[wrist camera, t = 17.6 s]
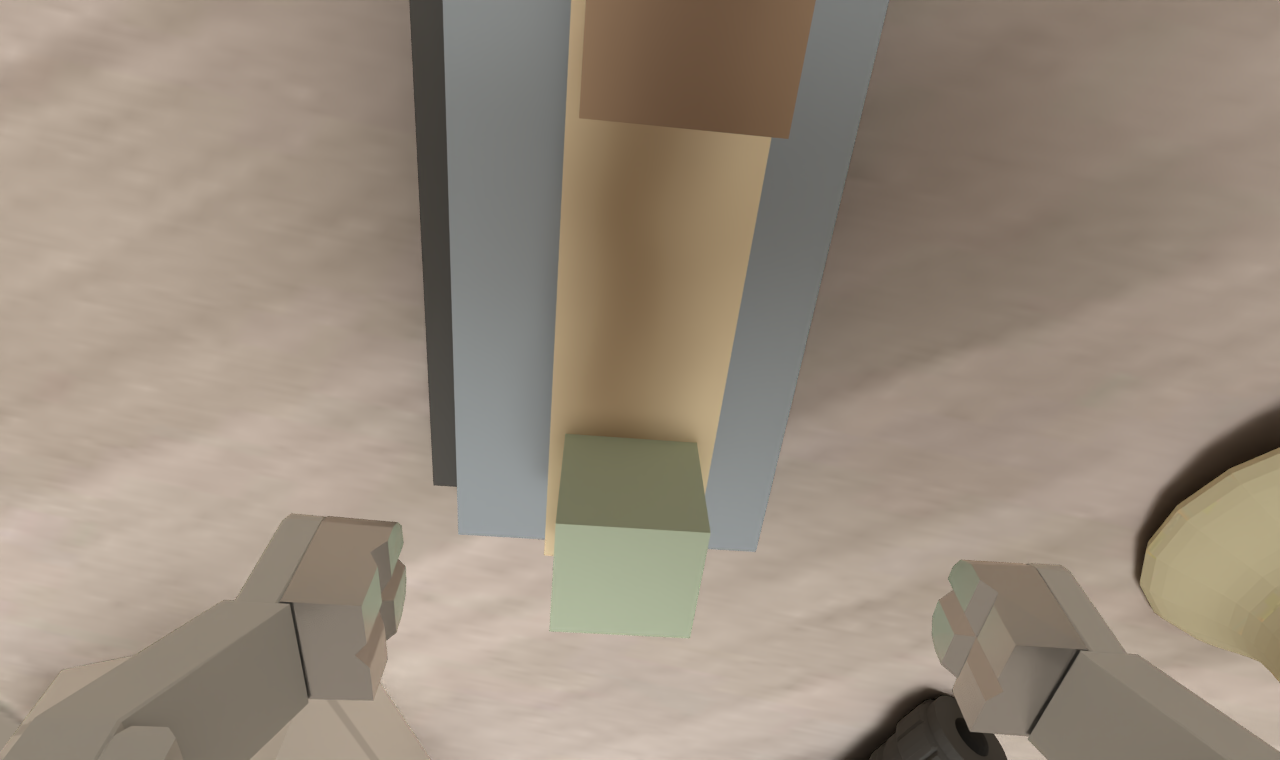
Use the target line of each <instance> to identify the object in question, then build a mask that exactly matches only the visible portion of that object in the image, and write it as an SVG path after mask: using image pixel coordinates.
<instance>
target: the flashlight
mask: <svg viewBox="0 0 1280 760" xmlns="http://www.w3.org/2000/svg"><path fill="white" fill-rule="evenodd" d="M869 760H1007V757H1006V755H1005V752H1004V750H1003V748H1002V746H1001V745H1000V743H999V741H998V740H997V738H996V737H995V735H994V734H993V733H980V732H970V731H969V728H968V726H967V724H966V721H965V719H964V717H963V714H962V712H961V710H960V707H959V705H958V703H957V701H956V699H955V698H953V697H950V696H940V697H938V698H937V699H936V700H930V699H929V700H926V701H924V702H923V703H922V704H920V705H919V706H917V707H916V708H915V709H914V710H912V711H911V712H910V713H909V714H908V715H906V716H905V717H904V718H903V719H902V720H900V721H899V722H898V724H897V727H896V733H894V734H893V735H892V736H891V737H890V738H888V740H887V741H886V743H883V744H882V745H881V746H880V748H878V749H876V750H875V751H874V752H873V753H872V755H871V756H870V759H869Z"/></svg>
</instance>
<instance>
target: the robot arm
mask: <svg viewBox="0 0 1280 760" xmlns="http://www.w3.org/2000/svg"><path fill="white" fill-rule="evenodd" d="M402 546H403V534H402V526H401V525H400V524H399V523H398V522H389V521H378V520H367V519H355V518H344V517H333V516H327V517H323V516H313V515H303V514H293V513H291V514H290V515H289V516H287V517H286V518H285V519H284V520H282V522H281V523H280V525H279V527H278V529H277V530H276V532H275V534H274V535H273V537H272V539H271V540H270V542H269V544H268V545H267V547H266V549H265V550H264V552H263V554H262V556H261V557H260V559H259V561H258V562H257V564H256V566H255V567H254V569H253V571H252V572H251V574H250V576H249V577H248V579H247V581H246V583H245V584H244V586H243V588H242V589H241V591H240V593H239V594H238V596H237V598H236V599H235V601H234V600H223V601H221V602H220V603H218V604H216V605H215V606H213V607H212V608H210V609H208V610H207V611H205V612H203V613H202V614H200V615H199V616H197V617H195V618H194V619H192V620H191V621H189V622H187V623H186V624H184V625H183V626H181V627H179V628H178V629H176V630H175V631H173V632H171V633H170V634H168V635H166V636H165V637H163V638H162V639H160V640H158V641H157V642H155V643H154V644H152V645H150V646H149V647H147V648H146V649H144V650H142V651H141V652H139V653H137V654H136V655H134V656H133V657H131V658H129V659H128V660H126V661H125V662H123V663H121V664H120V665H118V666H117V667H115V668H113V669H112V670H110V671H109V672H107V673H105V674H104V675H102V676H100V677H99V678H97V679H96V680H94V681H92V682H91V683H89V684H88V685H86V686H84V687H83V688H81V689H80V690H78V691H76V692H75V693H73V694H72V695H70V696H68V697H67V698H65V699H63V700H62V701H60V702H59V703H57V704H55V705H54V706H52V707H51V708H49V709H47V710H46V711H44V712H43V713H41V714H39V715H38V716H36V717H35V718H34V719H33V721H32V722H31V723H30V724H29V726H28V727H27V728H26V730H25V731H24V732H23V734H22V735H21V736H20V738H19V739H18V740H17V742H16V743H15V744H14V745H13V747H12V748H11V749H10V751H9V752H8V753H7V755H6V756H5V757H4V759H3V760H250V759H251V758H252V757H253V756H254V755H255V754H256V753H257V752H258V751H259V750H260V749H261V748H262V747H263V746H264V745H265V744H266V743H268V742H269V741H270V740H271V739H272V738H273V737H274V736H275V735H276V734H277V733H278V732H279V731H280V730H281V729H282V728H283V727H284V726H285V725H286V724H287V723H288V722H289V721H291V720H292V719H293V718H294V717H295V716H296V715H297V714H298V713H299V712H300V711H301V710H302V709H303V708H304V707H305V706H306V705H307V704H308V703H309V700H308V699H324V700H366V701H374V698H375V695H376V692H377V689H378V686H379V683H380V680H381V677H382V674H383V671H384V668H385V666H386V663H387V660H388V657H387V647H386V640H388V639H389V638H390V637H391V636H393V635H394V634H395V633H396V632H397V629H398V626H399V623H400V620H401V616H402V612H403V606H404V601H405V595H406V567H405V565H404V564H403V563H402V562H401V561H400V560H399V559H398V557H399V555H400V552H401V549H402ZM948 580H949V582H950V584H951V586H952V588H953V590H952V591H951V592H949V593H948V594H946V595H945V596H944V597H942V598H941V599H939V600H938V603H937V606H936V608H935V611H934V614H933V616H932V638H933V643H934V648H935V651H936V653H937V656H938V658H939V661H940V663H941V664H942V665H943V666H944V667H945V668H946V669H947V670H948V671H950V672H951V673H952V674H953V675H954V676H955V677H956V681H955V684H954V687H953V689H952V691H953V694H954V696H955V698H956V701H957V703H958V705H959V707H960V710H961V712H962V714H963V717H964V719H965V721H966V724H967V726H968V728H969V731H970V732H980V733H993V734H1005V735H1018V736H1029V738H1028V740H1029V741H1030V742H1031V743H1032V744H1033V745H1034V746H1035V747H1036V748H1037V749H1038V750H1039V751H1040V752H1041V753H1042V754H1043V755H1044V756H1045V757H1046V759H1047V760H1280V752H1279V751H1278V750H1276V749H1275V748H1273V747H1272V746H1270V745H1269V744H1267V743H1266V742H1265V741H1263V740H1262V739H1260V738H1259V737H1257V736H1256V735H1254V734H1253V733H1251V732H1250V731H1248V730H1247V729H1246V728H1244V727H1243V726H1241V725H1240V724H1238V723H1237V722H1235V721H1234V720H1232V719H1231V718H1230V717H1228V716H1227V715H1225V714H1224V713H1222V712H1221V711H1219V710H1218V709H1216V708H1215V707H1214V706H1212V705H1211V704H1209V703H1208V702H1206V701H1205V700H1203V699H1202V698H1200V697H1199V696H1197V695H1196V694H1195V693H1193V692H1192V691H1190V690H1189V689H1187V688H1186V687H1184V686H1183V685H1181V684H1180V683H1179V682H1177V681H1176V680H1174V679H1173V678H1171V677H1170V676H1168V675H1167V674H1165V673H1164V672H1163V671H1161V670H1160V669H1158V668H1157V667H1155V666H1154V665H1152V664H1151V663H1149V662H1148V661H1147V660H1145V659H1144V658H1142V657H1141V656H1139V655H1138V654H1127V653H1126V651H1125V650H1124V648H1123V647H1122V645H1121V644H1120V643H1119V641H1118V640H1117V638H1116V637H1115V635H1114V634H1113V633H1112V631H1111V630H1110V628H1109V627H1108V625H1107V624H1106V622H1105V621H1104V620H1103V618H1102V617H1101V615H1100V614H1099V612H1098V611H1097V610H1096V608H1095V607H1094V605H1093V604H1092V602H1091V601H1090V600H1089V598H1088V597H1087V595H1086V594H1085V592H1084V591H1083V589H1082V588H1081V587H1080V585H1079V584H1078V582H1077V581H1076V579H1075V578H1074V577H1073V575H1072V574H1071V572H1070V571H1069V570H1067V569H1066V568H1064V567H1063V566H1062V565H1052V564H1033V563H1027V564H1023V563H1009V562H992V561H974V560H960V561H959V562H958V563H957V564H955V565H954V566H953V568H952V571H951V573H950V575H949V577H948Z"/></svg>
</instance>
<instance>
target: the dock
mask: <svg viewBox="0 0 1280 760" xmlns="http://www.w3.org/2000/svg"><path fill="white" fill-rule="evenodd" d="M409 1H410V21H411V41H412V61H413V81H414V101H415V122H416V142H417V162H418V182H419V202H420V222H421V242H422V262H423V282H424V302H425V323H426V343H427V363H428V383H429V403H430V423H431V443H432V463H433V483H434V485H438V486H454V487H457V502H458V534H461V535H478V536H495V537H513V538H530V539H545V527H546V507H547V486H548V466H549V445H550V425H551V404H552V384H553V363H554V343H555V322H556V302H557V281H558V261H559V240H560V220H561V199H562V179H563V158H564V138H565V117H566V97H567V76H568V56H569V35H570V15H571V0H409ZM888 3H889V0H816V2H815V7H814V12H813V17H812V22H811V27H810V33H809V38H808V43H807V48H806V53H805V58H804V63H803V68H802V73H801V78H800V83H799V88H798V93H797V98H796V103H795V109H794V114H793V119H792V124H791V129H790V134H789V139H783V138H773V137H772V138H771V143H770V149H769V154H768V159H767V165H766V170H765V175H764V181H763V186H762V192H761V197H760V202H759V208H758V213H757V218H756V224H755V229H754V235H753V240H752V245H751V251H750V256H749V261H748V267H747V272H746V278H745V283H744V288H743V294H742V299H741V304H740V310H739V315H738V321H737V326H736V331H735V337H734V342H733V347H732V353H731V358H730V363H729V369H728V374H727V380H726V385H725V390H724V396H723V401H722V406H721V412H720V417H719V423H718V428H717V433H716V439H715V444H714V449H713V455H712V460H711V466H710V471H709V476H708V482H707V487H706V492H705V499H706V506H707V512H708V519H709V525H710V532H711V534H710V539H709V544H708V549H718V550H735V551H752V552H756V549H757V545H758V541H759V536H760V532H761V528H762V524H763V520H764V516H765V512H766V507H767V503H768V499H769V495H770V491H771V487H772V483H773V479H774V474H775V470H776V466H777V462H778V458H779V454H780V450H781V445H782V441H783V437H784V433H785V429H786V425H787V421H788V417H789V412H790V408H791V404H792V400H793V396H794V392H795V388H796V383H797V379H798V375H799V371H800V367H801V363H802V359H803V355H804V350H805V346H806V342H807V338H808V334H809V330H810V326H811V321H812V317H813V313H814V309H815V305H816V301H817V297H818V293H819V288H820V284H821V280H822V276H823V272H824V268H825V264H826V259H827V255H828V251H829V247H830V243H831V239H832V235H833V230H834V226H835V222H836V218H837V214H838V210H839V206H840V202H841V197H842V193H843V189H844V185H845V181H846V177H847V173H848V168H849V164H850V160H851V156H852V152H853V148H854V144H855V140H856V135H857V131H858V127H859V123H860V119H861V115H862V111H863V106H864V102H865V98H866V94H867V90H868V86H869V82H870V78H871V73H872V69H873V65H874V61H875V57H876V53H877V49H878V44H879V40H880V36H881V32H882V28H883V24H884V20H885V16H886V11H887V7H888Z"/></svg>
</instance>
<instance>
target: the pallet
mask: <svg viewBox="0 0 1280 760" xmlns="http://www.w3.org/2000/svg"><path fill="white" fill-rule="evenodd" d="M585 5H586V0H571V15H570V35H569V56H568V76H567V97H566V117H565V138H564V158H563V179H562V199H561V220H560V240H559V261H558V281H557V302H556V322H555V343H554V363H553V384H552V404H551V425H550V445H549V466H548V486H547V507H546V527H545V548H544V555H545V556H554V544H555V526H556V516H557V506H558V497H559V488H560V478H561V469H562V460H563V450H564V441H565V434H577V435H591V436H606V437H620V438H635V439H649V440H664V441H678V442H693V443H697V447H698V454H699V460H700V467H701V473H702V480H703V486H704V493H705V492H706V487H707V482H708V476H709V471H710V466H711V460H712V455H713V449H714V444H715V439H716V433H717V428H718V423H719V417H720V412H721V406H722V401H723V396H724V390H725V385H726V380H727V374H728V369H729V363H730V358H731V353H732V347H733V342H734V337H735V331H736V326H737V321H738V315H739V310H740V304H741V299H742V294H743V288H744V283H745V278H746V272H747V267H748V261H749V256H750V251H751V245H752V240H753V235H754V229H755V224H756V218H757V213H758V208H759V202H760V197H761V192H762V186H763V181H764V175H765V170H766V165H767V159H768V154H769V149H770V143H771V138H772V137H763V136H753V135H742V134H732V133H722V132H712V131H702V130H692V129H682V128H672V127H662V126H652V125H642V124H632V123H622V122H612V121H602V120H592V119H582V118H579V110H580V92H581V75H582V58H583V40H584V23H585Z"/></svg>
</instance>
